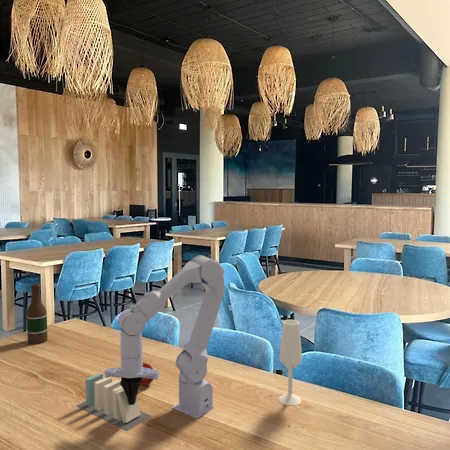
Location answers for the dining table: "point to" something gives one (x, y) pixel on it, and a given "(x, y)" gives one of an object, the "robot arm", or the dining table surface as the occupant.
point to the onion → (146, 380)
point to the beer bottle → (36, 318)
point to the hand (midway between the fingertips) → (132, 403)
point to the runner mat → (111, 420)
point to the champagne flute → (290, 356)
